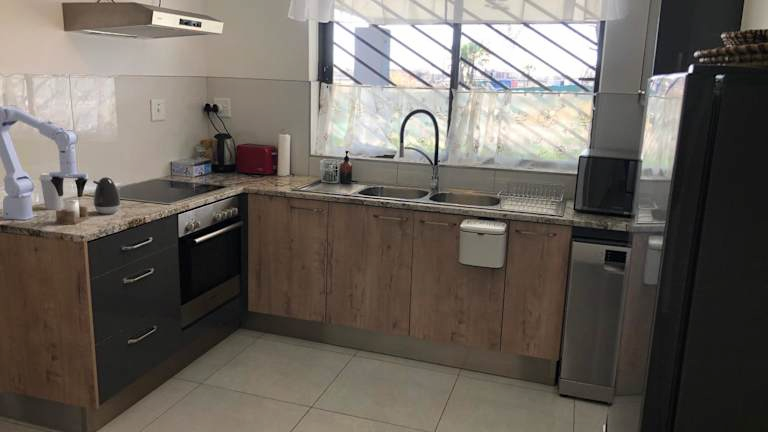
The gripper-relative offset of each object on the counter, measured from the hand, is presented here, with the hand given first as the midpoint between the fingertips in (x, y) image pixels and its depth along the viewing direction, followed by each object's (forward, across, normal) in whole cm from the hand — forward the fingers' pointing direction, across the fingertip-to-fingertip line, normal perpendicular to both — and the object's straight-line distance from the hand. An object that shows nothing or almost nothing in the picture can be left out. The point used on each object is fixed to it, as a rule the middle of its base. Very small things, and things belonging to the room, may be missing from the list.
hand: (70, 196), depth 236 cm
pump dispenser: (+10, +6, +16) cm, 20 cm away
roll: (+9, 0, 0) cm, 9 cm away
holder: (+10, 0, 0) cm, 10 cm away
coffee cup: (+10, -19, +20) cm, 29 cm away
